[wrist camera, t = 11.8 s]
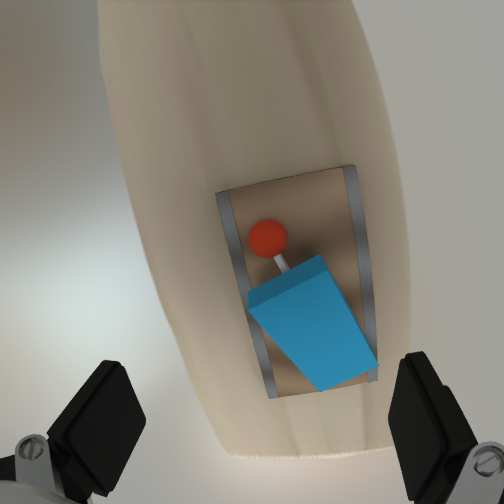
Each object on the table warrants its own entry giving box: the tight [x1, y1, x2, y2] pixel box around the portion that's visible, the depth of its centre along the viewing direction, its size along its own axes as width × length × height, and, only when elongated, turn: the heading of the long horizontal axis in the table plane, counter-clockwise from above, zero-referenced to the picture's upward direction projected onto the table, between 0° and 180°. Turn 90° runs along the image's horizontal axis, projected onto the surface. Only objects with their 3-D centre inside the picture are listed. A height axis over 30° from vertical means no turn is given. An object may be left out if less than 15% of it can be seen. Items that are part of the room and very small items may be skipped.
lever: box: [248, 219, 379, 392], centre depth 29 cm, size 7×7×18 cm
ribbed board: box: [215, 165, 378, 399], centre depth 31 cm, size 24×13×1 cm, turn 13°
